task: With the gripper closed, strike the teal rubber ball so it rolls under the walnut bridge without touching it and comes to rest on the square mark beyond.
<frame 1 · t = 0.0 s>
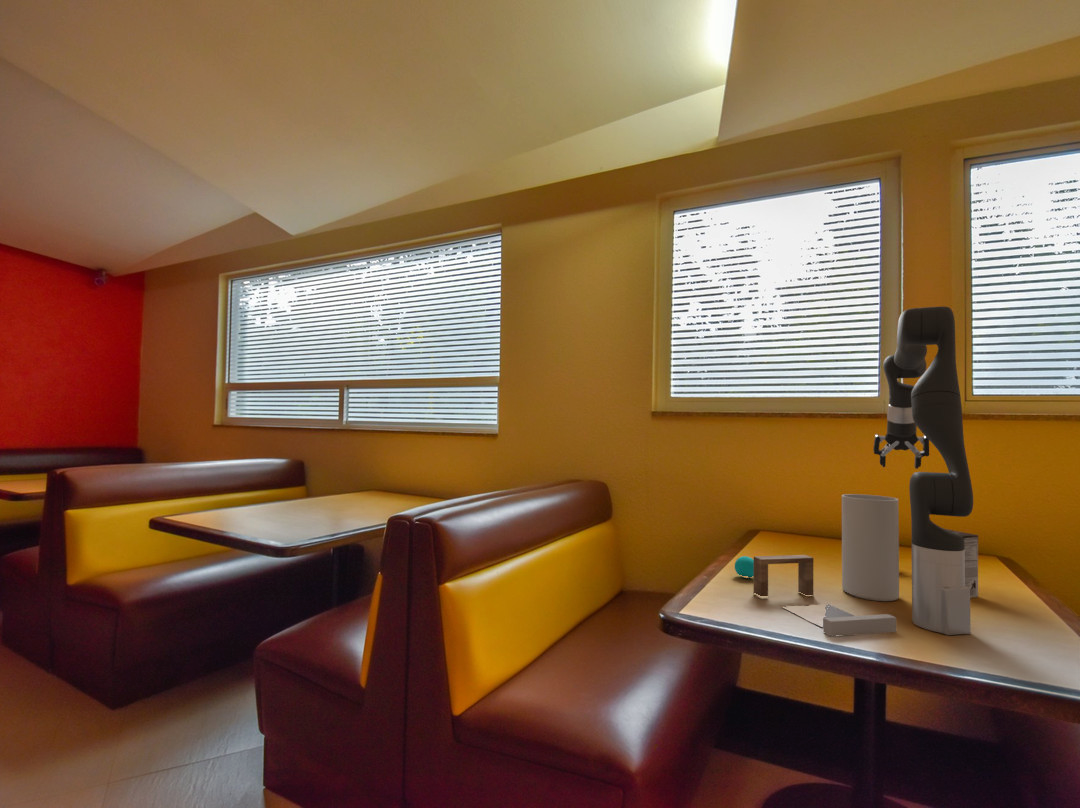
hand: (899, 466, 165), 31 cm above the table, tool tilted 20°, fingers open, 8 cm apart
cylinder vase: (870, 595, 136), on the table
ball: (745, 567, 148), on the table
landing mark: (824, 615, 119), on the table
stopper wall: (860, 632, 109), on the table
coffee box: (952, 593, 139), on the table
bridge: (783, 595, 133), on the table
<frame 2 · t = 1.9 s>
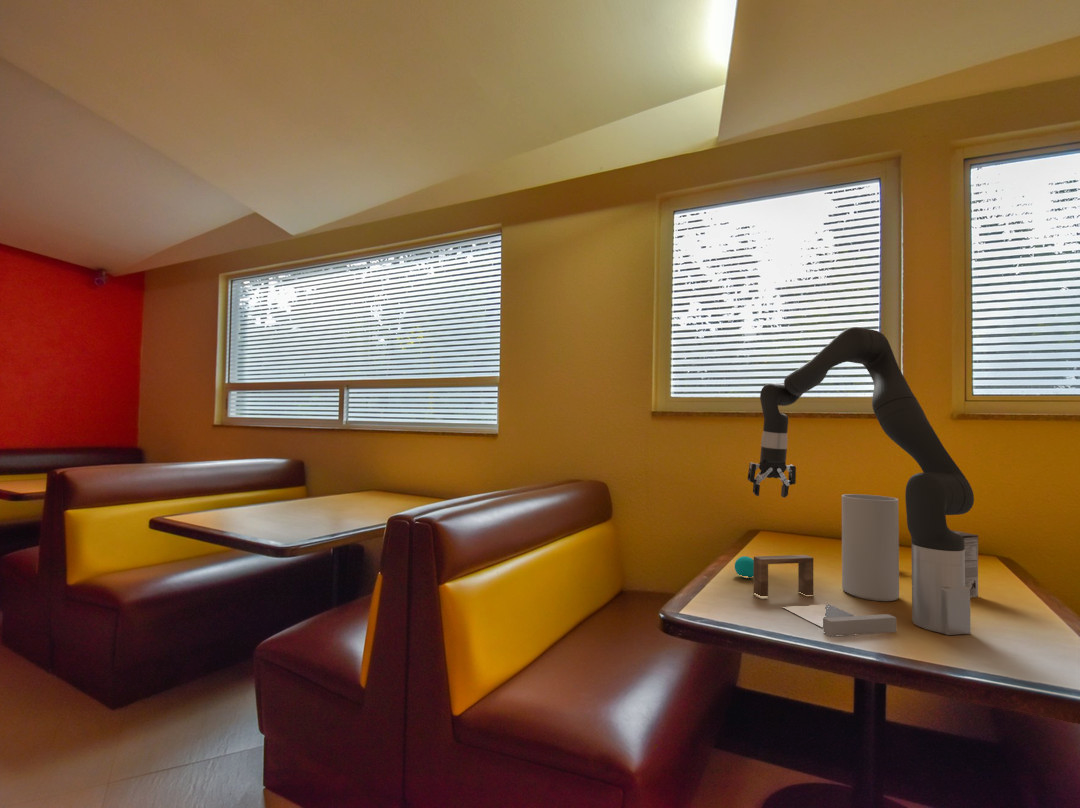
hand: (770, 496, 168), 21 cm above the table, tool pointing down, fingers open, 8 cm apart
nothing on the table moved.
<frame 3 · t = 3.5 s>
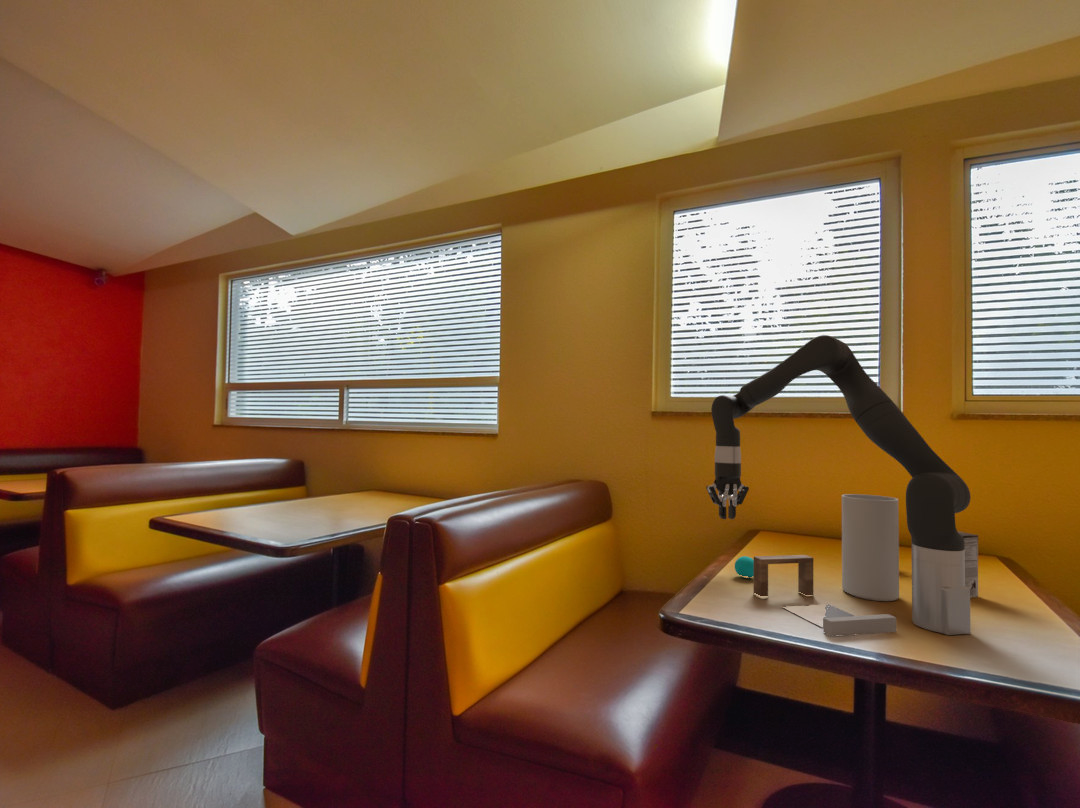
hand: (727, 518, 158), 15 cm above the table, tool pointing down, fingers closed
nothing on the table moved.
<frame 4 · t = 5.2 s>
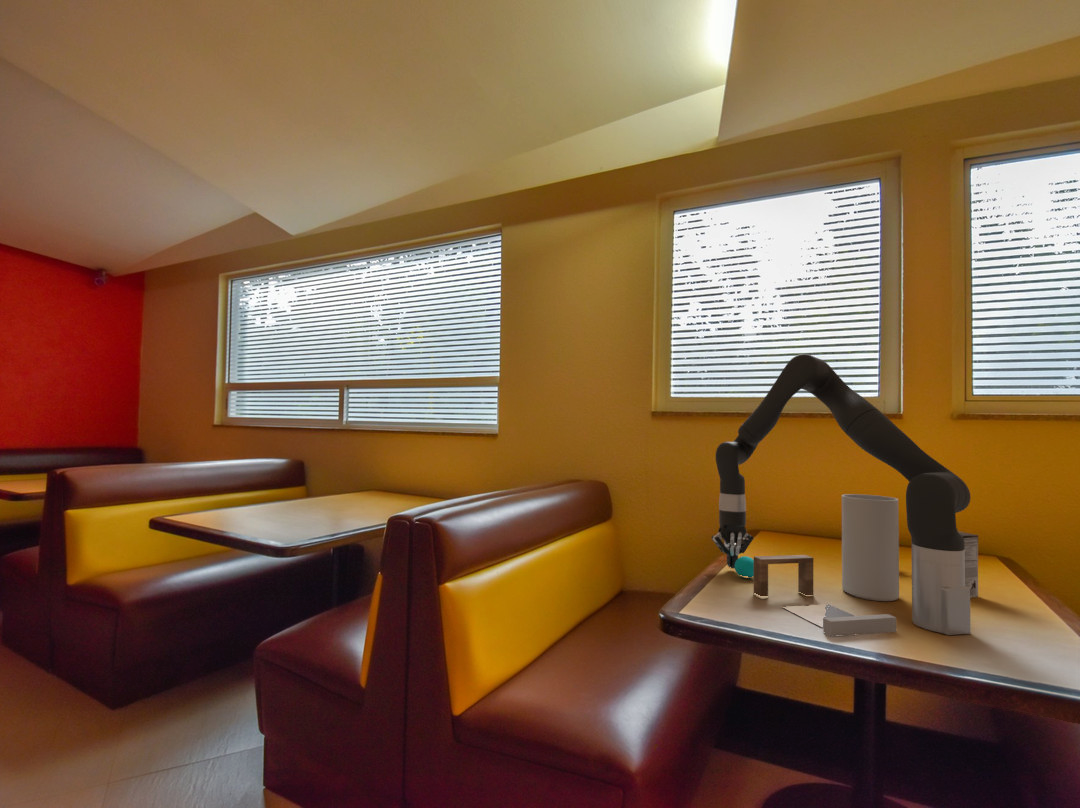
hand: (732, 567, 155), 1 cm above the table, tool pointing down, fingers closed
nothing on the table moved.
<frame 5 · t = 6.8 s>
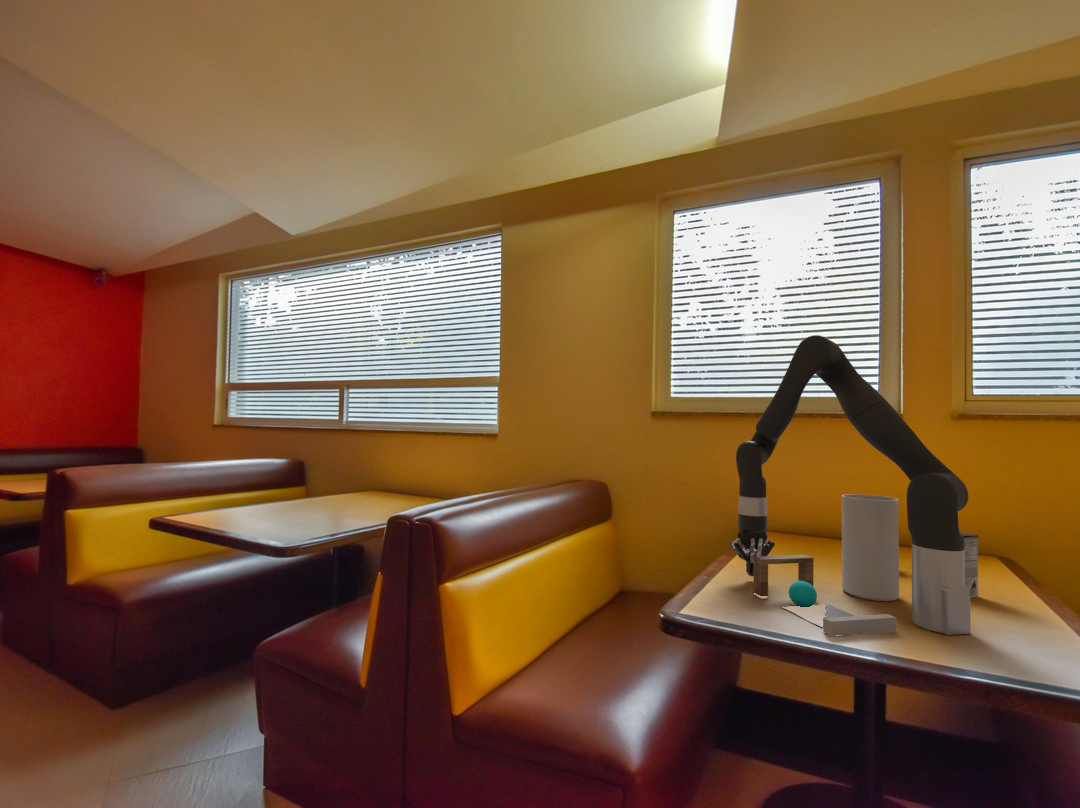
hand: (752, 575, 145), 2 cm above the table, tool pointing down, fingers closed
ball: (802, 594, 125), on the table
everything else where it was.
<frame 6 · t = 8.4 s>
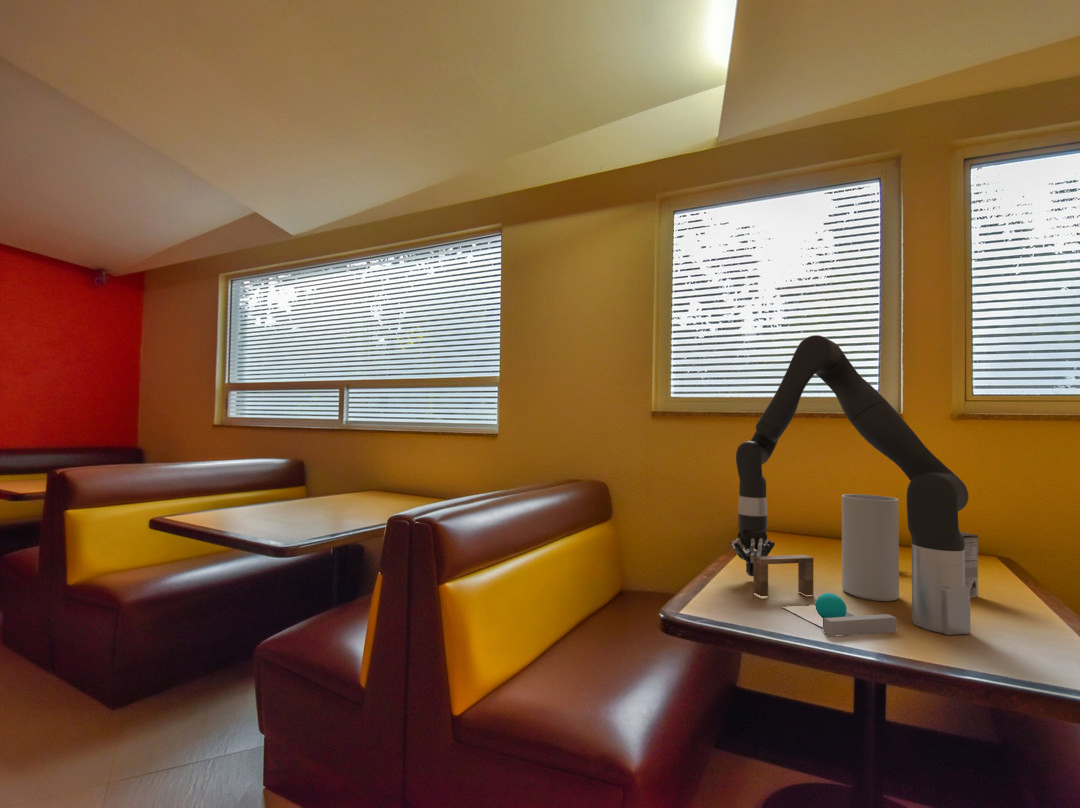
hand: (752, 575, 145), 2 cm above the table, tool pointing down, fingers closed
ball: (830, 607, 116), on the table
everything else where it was.
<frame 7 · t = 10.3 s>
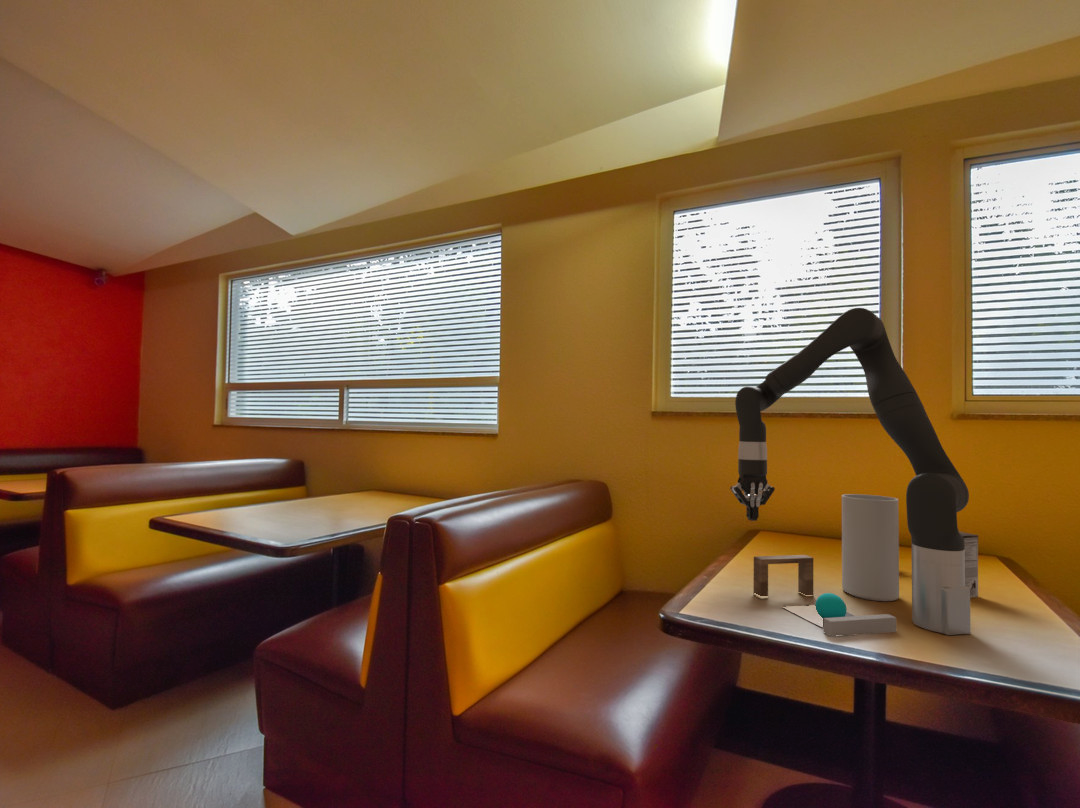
hand: (752, 520, 146), 17 cm above the table, tool pointing down, fingers closed
nothing on the table moved.
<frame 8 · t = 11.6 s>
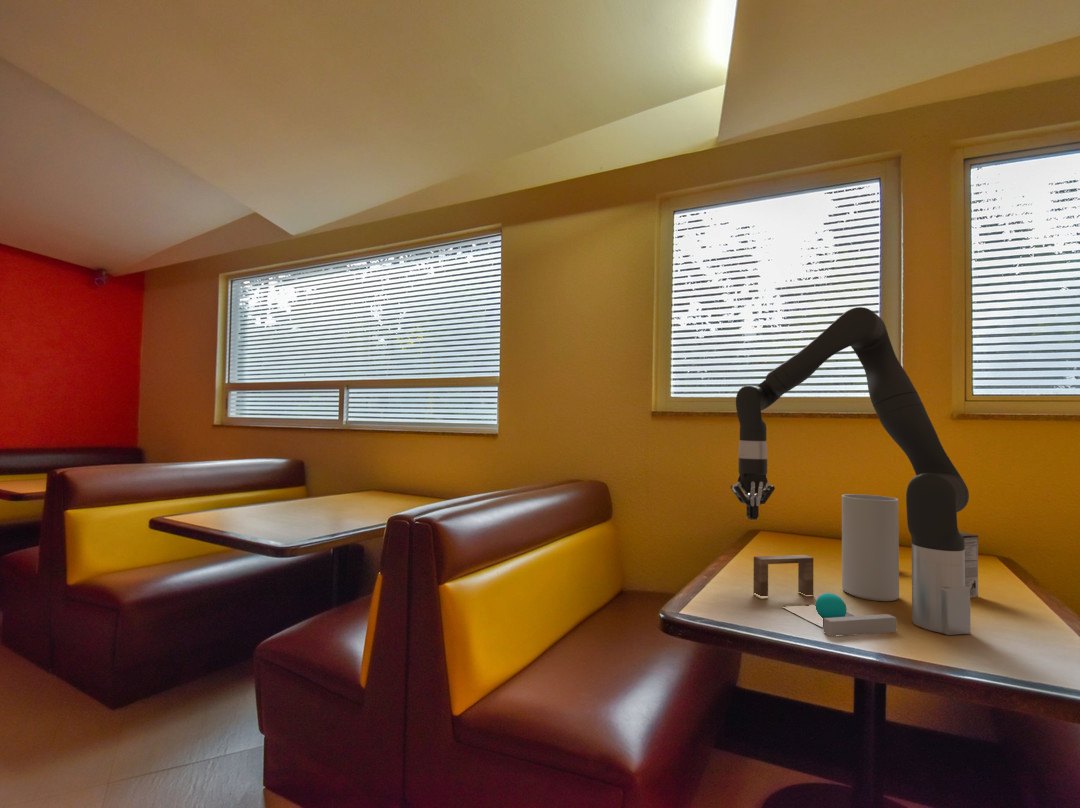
hand: (752, 519, 146), 17 cm above the table, tool pointing down, fingers closed
nothing on the table moved.
at the end: ball 3.7 cm from the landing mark (horizontally); ball never touched bridge; ball at rest at the end (0.0 cm/s) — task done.
